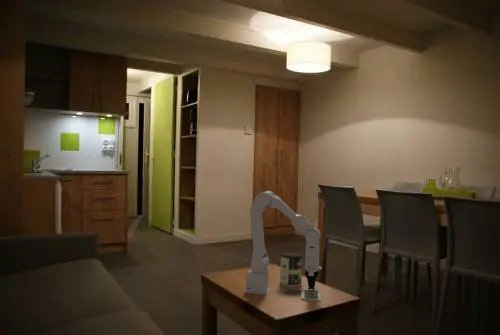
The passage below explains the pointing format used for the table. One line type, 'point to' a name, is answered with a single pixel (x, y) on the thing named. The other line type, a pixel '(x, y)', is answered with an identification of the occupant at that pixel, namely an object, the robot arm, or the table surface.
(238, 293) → the table surface
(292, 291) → the mat
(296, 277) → the coffee can
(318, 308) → the table surface
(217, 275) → the table surface
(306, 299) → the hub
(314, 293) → the ring
